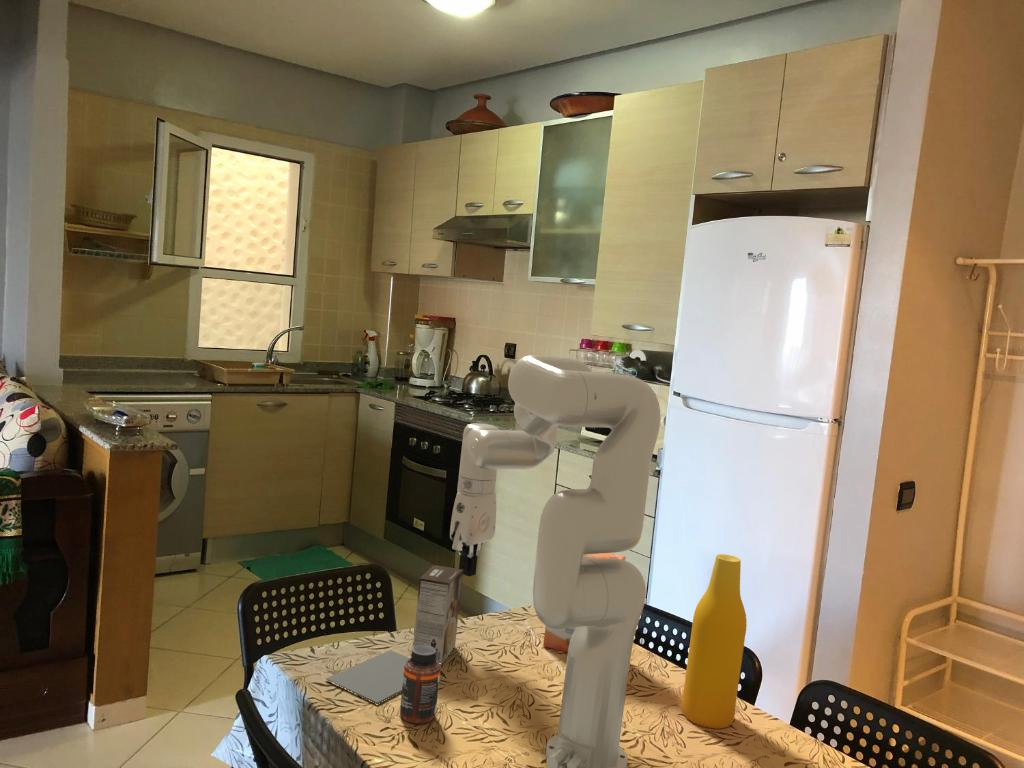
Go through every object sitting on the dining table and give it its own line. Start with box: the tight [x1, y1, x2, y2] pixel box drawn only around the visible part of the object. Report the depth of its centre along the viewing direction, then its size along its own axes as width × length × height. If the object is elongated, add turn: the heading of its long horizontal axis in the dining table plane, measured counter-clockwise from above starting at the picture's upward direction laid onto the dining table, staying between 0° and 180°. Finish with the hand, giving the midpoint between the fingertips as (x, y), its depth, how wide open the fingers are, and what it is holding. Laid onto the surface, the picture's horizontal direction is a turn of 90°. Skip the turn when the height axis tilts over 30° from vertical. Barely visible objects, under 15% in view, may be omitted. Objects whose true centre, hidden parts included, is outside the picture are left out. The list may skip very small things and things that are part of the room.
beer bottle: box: [680, 553, 747, 730], centre depth 139 cm, size 9×9×29 cm
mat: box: [325, 649, 411, 705], centre depth 142 cm, size 17×12×1 cm
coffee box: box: [412, 564, 463, 664], centre depth 153 cm, size 9×6×16 cm
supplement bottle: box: [399, 645, 441, 725], centre depth 129 cm, size 6×6×11 cm
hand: (466, 573), depth 160 cm, fingers closed
